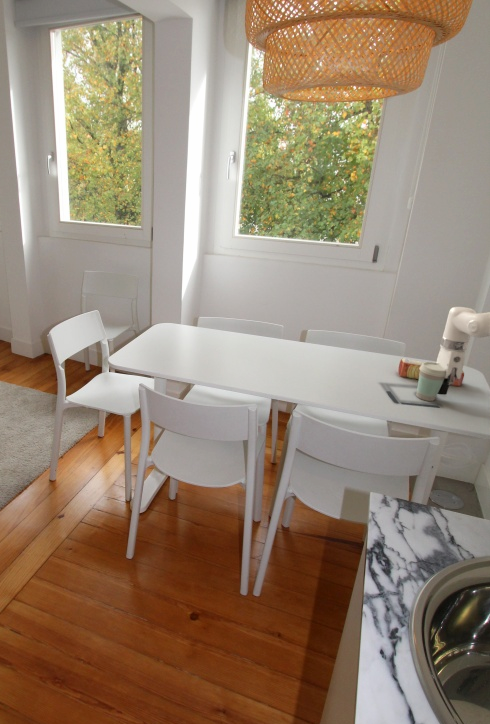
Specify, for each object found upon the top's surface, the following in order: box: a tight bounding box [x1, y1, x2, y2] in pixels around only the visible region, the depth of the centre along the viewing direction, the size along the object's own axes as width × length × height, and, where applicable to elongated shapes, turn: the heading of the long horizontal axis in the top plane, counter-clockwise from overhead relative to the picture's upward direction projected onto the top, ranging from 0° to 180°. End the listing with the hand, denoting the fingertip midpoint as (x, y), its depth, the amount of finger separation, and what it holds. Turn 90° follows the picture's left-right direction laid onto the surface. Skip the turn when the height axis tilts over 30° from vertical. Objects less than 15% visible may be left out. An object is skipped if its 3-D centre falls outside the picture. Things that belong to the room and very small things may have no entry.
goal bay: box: [386, 390, 441, 409], centre depth 166 cm, size 16×14×1 cm
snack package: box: [398, 357, 465, 387], centre depth 178 cm, size 21×7×7 cm, turn 67°
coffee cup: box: [416, 361, 446, 402], centre depth 163 cm, size 8×8×12 cm
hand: (440, 393), depth 164 cm, fingers closed
